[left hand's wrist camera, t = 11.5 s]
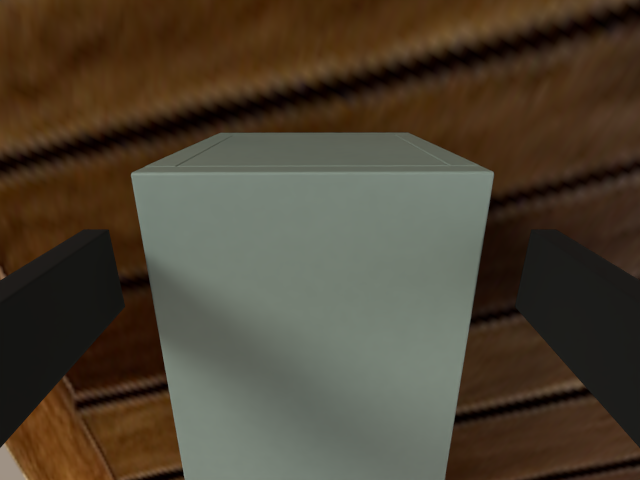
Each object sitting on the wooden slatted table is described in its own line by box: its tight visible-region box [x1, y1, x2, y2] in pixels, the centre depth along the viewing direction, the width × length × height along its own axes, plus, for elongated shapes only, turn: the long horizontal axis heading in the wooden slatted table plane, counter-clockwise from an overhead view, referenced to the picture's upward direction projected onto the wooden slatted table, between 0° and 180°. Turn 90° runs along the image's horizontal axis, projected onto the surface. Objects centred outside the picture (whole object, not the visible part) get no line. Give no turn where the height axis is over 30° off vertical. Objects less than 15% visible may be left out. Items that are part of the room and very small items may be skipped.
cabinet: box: [131, 133, 494, 480], centre depth 19 cm, size 16×10×11 cm, turn 0°
